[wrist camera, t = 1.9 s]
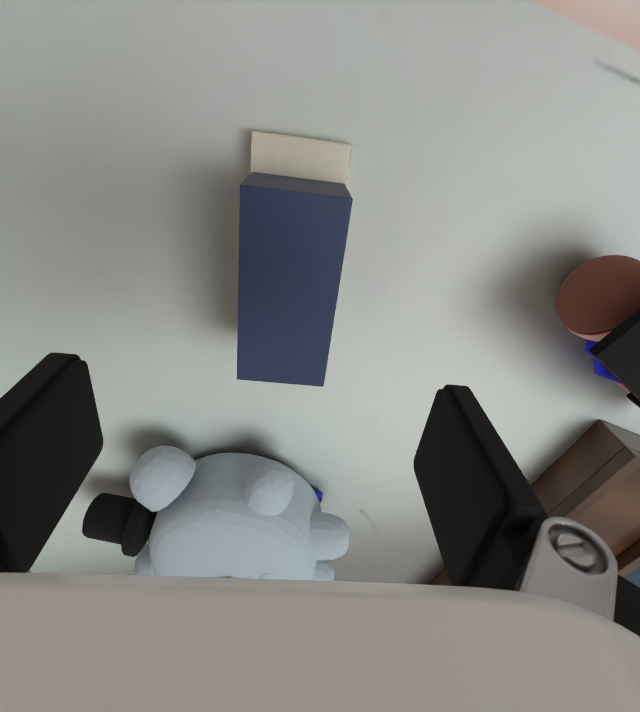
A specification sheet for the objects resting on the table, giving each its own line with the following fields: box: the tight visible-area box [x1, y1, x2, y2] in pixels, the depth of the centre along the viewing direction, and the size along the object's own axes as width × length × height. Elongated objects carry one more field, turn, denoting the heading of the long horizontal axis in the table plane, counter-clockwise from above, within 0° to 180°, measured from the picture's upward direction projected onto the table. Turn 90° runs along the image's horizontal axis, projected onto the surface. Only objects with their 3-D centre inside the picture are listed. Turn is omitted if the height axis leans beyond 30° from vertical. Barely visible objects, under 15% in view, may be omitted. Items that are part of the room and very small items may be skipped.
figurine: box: [82, 445, 350, 581], centre depth 32 cm, size 17×8×20 cm
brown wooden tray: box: [428, 420, 640, 586], centre depth 37 cm, size 28×11×4 cm, turn 156°
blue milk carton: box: [237, 131, 353, 386], centre depth 21 cm, size 12×5×6 cm, turn 173°
